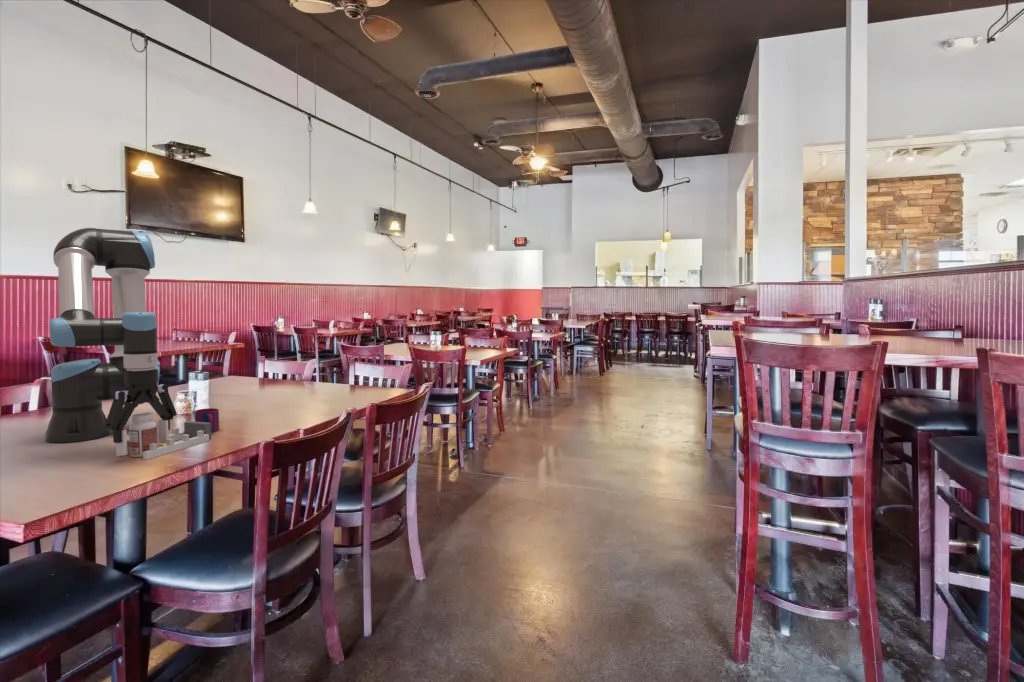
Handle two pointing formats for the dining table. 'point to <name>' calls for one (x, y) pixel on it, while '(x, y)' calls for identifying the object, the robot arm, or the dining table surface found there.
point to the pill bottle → (142, 433)
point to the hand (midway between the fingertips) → (143, 448)
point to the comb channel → (190, 437)
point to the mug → (208, 417)
